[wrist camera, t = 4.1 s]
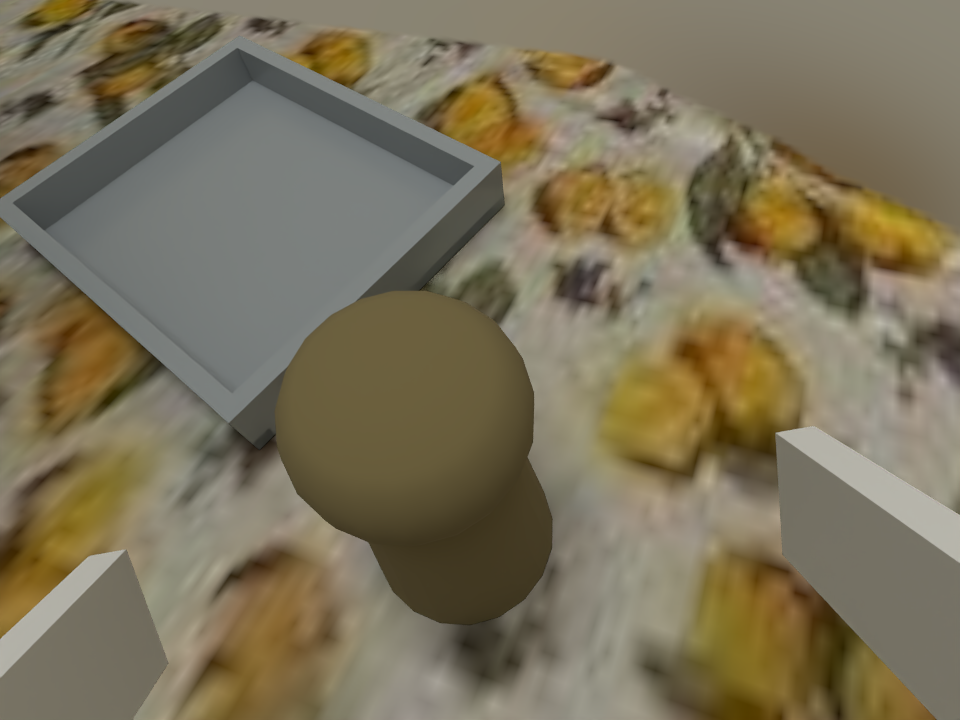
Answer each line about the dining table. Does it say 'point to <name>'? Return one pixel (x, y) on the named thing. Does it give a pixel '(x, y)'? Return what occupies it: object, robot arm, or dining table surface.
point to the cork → (421, 450)
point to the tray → (251, 218)
